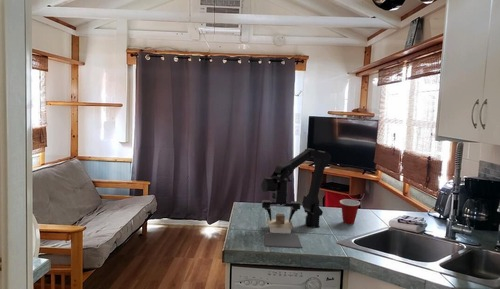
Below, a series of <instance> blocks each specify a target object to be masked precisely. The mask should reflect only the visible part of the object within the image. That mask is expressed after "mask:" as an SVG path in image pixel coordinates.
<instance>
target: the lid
mask: <svg viewBox="0 0 500 289" xmlns="http://www.w3.org/2000/svg"><path fill="white" fill-rule="evenodd" d="M292 222H293V221H292V220H291V221H290V222H289V219H286V215H285V213H275V218H271V221H270V218H267V227H268V228H269V227H275V228H291V229H294V225H293V223H292Z"/></svg>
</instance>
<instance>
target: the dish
mask: <svg viewBox="0 0 500 289" xmlns="http://www.w3.org/2000/svg"><path fill="white" fill-rule="evenodd" d="M268 228H269V234H288V235H292V234H291V232H292V228H275V227H268Z"/></svg>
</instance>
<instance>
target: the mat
mask: <svg viewBox="0 0 500 289" xmlns="http://www.w3.org/2000/svg"><path fill="white" fill-rule="evenodd" d="M263 235H264V236H263V239H264V247H272V248H292V249H294V248H295V249H303V246H302V243H301V240H300V238H299V235H298V234H288V233H265V232H264V233H263Z"/></svg>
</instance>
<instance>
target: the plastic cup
mask: <svg viewBox="0 0 500 289" xmlns="http://www.w3.org/2000/svg"><path fill="white" fill-rule="evenodd" d="M339 203H340V207H341V215H342V221H343V222H344V223H343V222H342V223H343V224H345V223H346V224H345V225H354V224H355V222H356V221H355V220H356V218H357V214H358V210H359V207H360V205H361V202H360V201H359V200H357V199H351V198H349V199H348V198H344V199H341V200H339Z"/></svg>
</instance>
